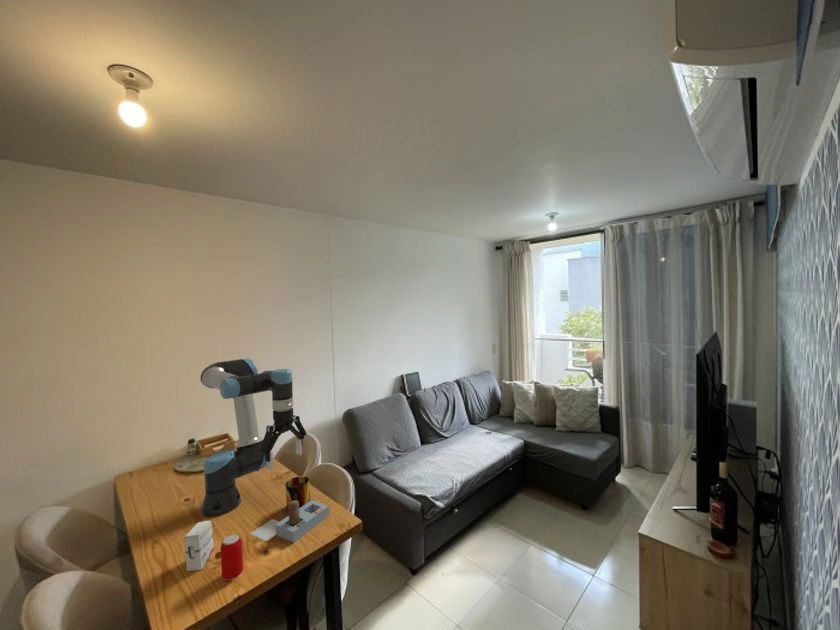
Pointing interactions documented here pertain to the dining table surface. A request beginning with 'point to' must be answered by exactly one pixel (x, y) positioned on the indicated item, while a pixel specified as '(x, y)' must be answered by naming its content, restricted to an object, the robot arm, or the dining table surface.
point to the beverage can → (231, 557)
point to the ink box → (198, 545)
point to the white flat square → (266, 530)
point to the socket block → (303, 521)
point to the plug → (294, 513)
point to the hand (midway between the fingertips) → (285, 461)
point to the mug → (298, 490)
